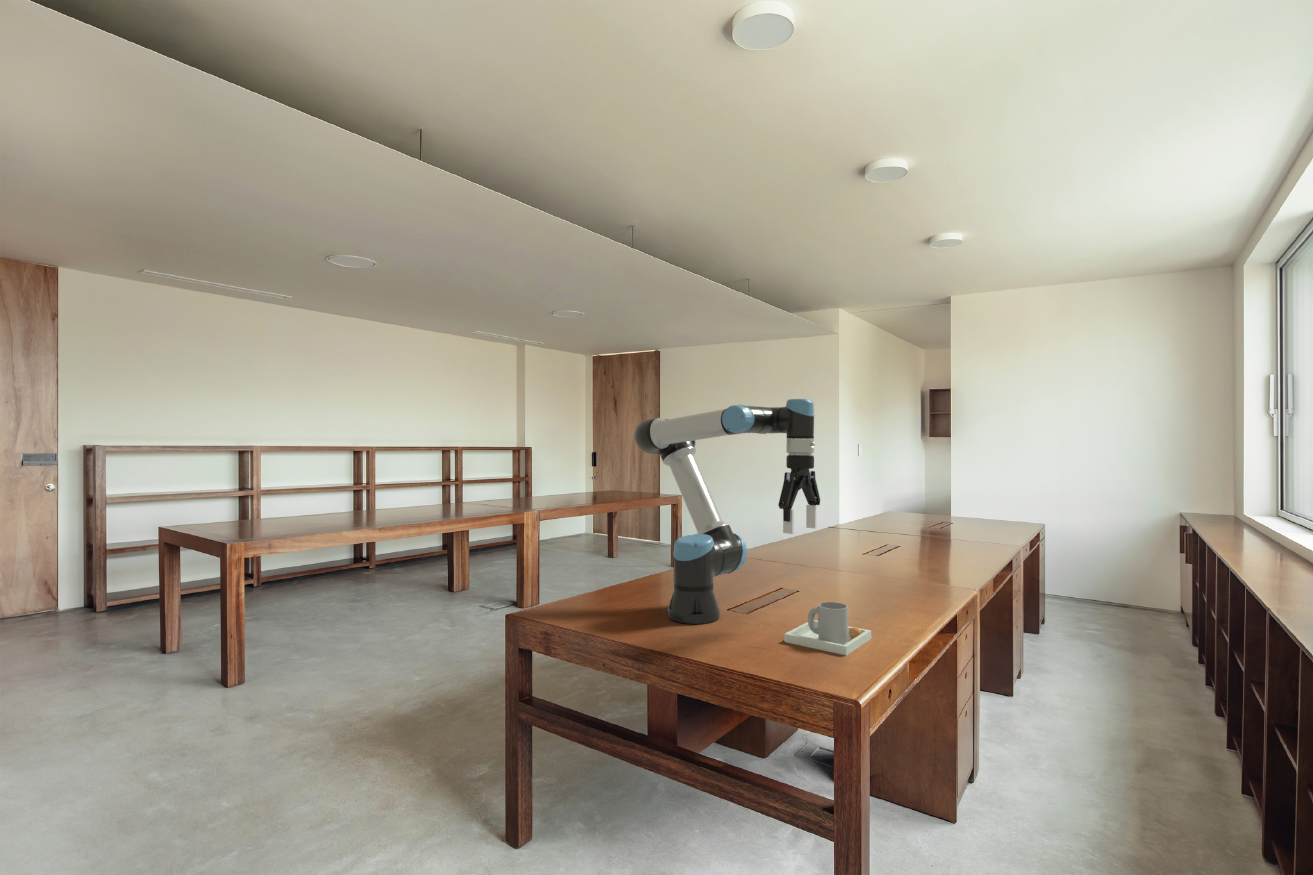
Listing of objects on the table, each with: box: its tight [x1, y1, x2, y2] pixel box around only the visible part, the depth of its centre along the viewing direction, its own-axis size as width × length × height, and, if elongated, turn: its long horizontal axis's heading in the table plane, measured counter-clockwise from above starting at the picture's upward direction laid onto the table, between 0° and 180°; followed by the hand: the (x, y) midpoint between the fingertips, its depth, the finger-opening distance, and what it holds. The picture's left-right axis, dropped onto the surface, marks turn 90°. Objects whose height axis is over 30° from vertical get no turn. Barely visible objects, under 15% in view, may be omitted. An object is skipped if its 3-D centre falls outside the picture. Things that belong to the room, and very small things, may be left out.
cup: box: [807, 601, 849, 645], centre depth 154 cm, size 7×10×9 cm
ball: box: [849, 626, 861, 639], centre depth 155 cm, size 3×3×3 cm
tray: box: [783, 619, 872, 656], centre depth 154 cm, size 16×16×3 cm
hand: (800, 530), depth 170 cm, fingers open, 13 cm apart
